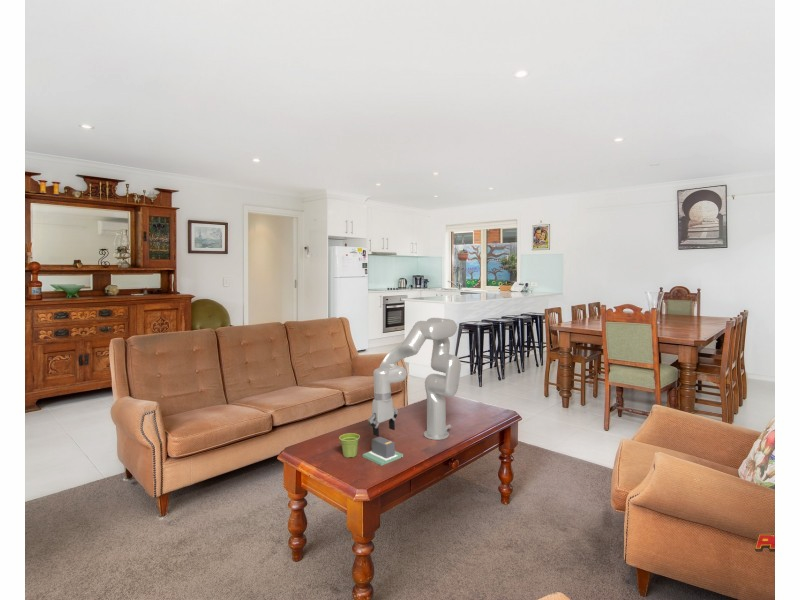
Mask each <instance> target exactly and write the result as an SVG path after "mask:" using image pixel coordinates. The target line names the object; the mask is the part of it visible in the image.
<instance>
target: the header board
mask: <svg viewBox="0 0 800 600" xmlns="http://www.w3.org/2000/svg"><path fill="white" fill-rule="evenodd" d="M401 457H402V458H403V457H404V454H403V453H401V452H399V451H396V450H395V456H392V457H390V458H387V459H386V458H384V457H382V456H379V455H377V454H375V453H373V452H372V450H370V451H367V452H365V453H362V458H365V459H366V460H369V461H371V462H372V463H375V464H377V465H379V466H381V467H382V466H385V465H388V464H390V463H392V462H394V461H396V460H399V459H401Z"/></svg>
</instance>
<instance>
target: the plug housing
mask: <svg viewBox="0 0 800 600" xmlns="http://www.w3.org/2000/svg"><path fill="white" fill-rule="evenodd" d="M395 444H396V443H395V441H392V440H389V439H387V438H385V437H382V436H378V437H377V436H376V437H375V438H371V451H372V452H373V453H375V454H377V455H379V456H382V457H384V458H386V459H387V458H390V457H392V456H395V451H396V449H395V448H396V447H395V446H396V445H395Z"/></svg>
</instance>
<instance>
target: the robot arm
mask: <svg viewBox="0 0 800 600" xmlns="http://www.w3.org/2000/svg"><path fill="white" fill-rule="evenodd" d="M457 330H458V326H457V323H456V322H455V321H454V320H453V319H449V318H441V317H430V318H428V319H427V320H418V321H416V322H415V324H414V325H413V326H412V328H411V329H410V330H409V333H408V334H407V336H406V337H405V338H404V340H403V341H402V343H401V344H400V345H398V346H396V347H395V348H393V349H392V350H390V351H389V352H388V353H387V354H386V355H385V356H384V358H383V360H382V361H381V362H380V364H379V367H377V368H375V369H374V370H373V372H372V373H373V375H372V377H373V378H372V379H373V393H374V394H373V396H374V399H372V403H371V404H372V405H371V415H370V417H369V418H368V419H367V422H368V424H369V425H370V426H371V427H372V435H373V436H374V437H376V438H377V437H380V430H379V427H378V426H379V425H380V424H381V423H383V422H386V421H388V429H390V430H392V431H395V429H396V427H395V426H396V425H395V422H396V418H397V417H398V412H399V410H398V409H397V408H394V402H393V401H394V400H393V397H392V393H393V391H392V390H391V387H392V386H391V384H396V383H401V382H403V381H405V380H406V379H407V375H408V371H407V370H406V368H405V367H403V366H401V365H397V363H398V362H400V361H401V360H403V359H406V358H409V357H413V356H415V355H418V353H419V351H420V350H421V348H422V346H423V345H424V343H426V340H431V341H432V343H433V344H432V353H431V357H430V358H431V359H430V367H431V369H432V370H434V371H436V372H438V373H430V374H428V375H427V376H426V378H425V380H424V388H425V393H426V394H425V395H426V430H425V431H424V432H423V436H424V438H426V439H429V440H433V441H439V440H440V441H441V440H445V439H448V438H449V435H450V433H449V431H448V429H451V428H452V425H451V423H449V424H446V422H447V417H446V416H447V413H446V412H447V411H446V409H447V407H446V406H447V405H446V404H447V401H446V397H454V396H455V395H456V394H457V393H458V389H459V385H460V384H459V383H460V376H461V369H462V364H461V363H462V362H461V360H460V358H459V357H458V356H457V355H455V354H451V353H450V348H451V344H450V339H449V338H451V337H453V336H455V334H456V332H457ZM439 373H442V374H439ZM443 373H444V374H445V375H444V374H443Z"/></svg>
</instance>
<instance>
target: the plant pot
mask: <svg viewBox="0 0 800 600" xmlns="http://www.w3.org/2000/svg"><path fill="white" fill-rule="evenodd" d="M338 438H339V440H340V444H341V449H342V454H343V457H344V458H347V459H348V458H355V457H357V455H358V448H359V446H358V445H359V441H360V438H361V436H360V434H357V433H354V432H353V433H352V432H350V433H349V432H348V433H343V434H341V435H340V436H339V437H338Z"/></svg>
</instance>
